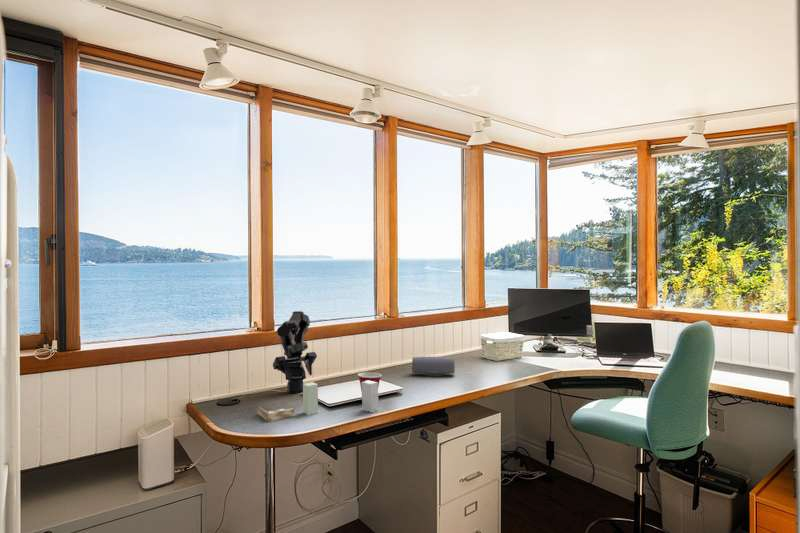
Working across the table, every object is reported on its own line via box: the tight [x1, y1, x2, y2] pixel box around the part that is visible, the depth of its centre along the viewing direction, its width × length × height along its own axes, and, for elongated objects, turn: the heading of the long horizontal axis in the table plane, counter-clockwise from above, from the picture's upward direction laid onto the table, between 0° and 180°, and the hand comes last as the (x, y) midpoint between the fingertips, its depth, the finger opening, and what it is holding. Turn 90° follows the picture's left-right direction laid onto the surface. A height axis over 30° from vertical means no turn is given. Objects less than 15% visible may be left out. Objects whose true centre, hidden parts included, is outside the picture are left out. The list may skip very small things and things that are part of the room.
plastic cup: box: [357, 372, 382, 392], centre depth 218 cm, size 11×11×12 cm
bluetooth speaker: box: [411, 356, 456, 377], centre depth 264 cm, size 23×9×10 cm, turn 84°
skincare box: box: [360, 380, 380, 413], centre depth 204 cm, size 6×4×12 cm
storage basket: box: [480, 331, 525, 362], centre depth 307 cm, size 24×16×15 cm
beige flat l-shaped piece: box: [257, 406, 295, 422], centre depth 198 cm, size 11×11×3 cm
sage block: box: [302, 381, 319, 416], centre depth 201 cm, size 4×4×12 cm
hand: (301, 376), depth 207 cm, fingers open, 9 cm apart
